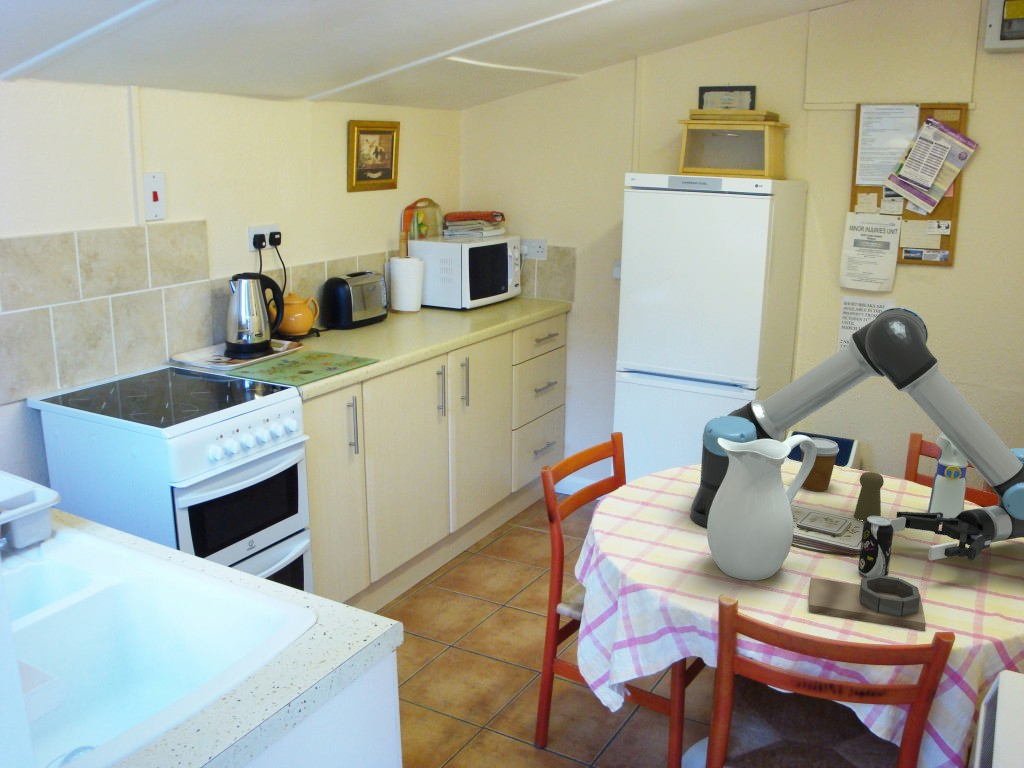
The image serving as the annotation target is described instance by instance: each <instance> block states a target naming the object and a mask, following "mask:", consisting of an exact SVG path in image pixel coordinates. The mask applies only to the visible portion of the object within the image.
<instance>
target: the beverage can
mask: <svg viewBox="0 0 1024 768" xmlns="http://www.w3.org/2000/svg"><path fill="white" fill-rule="evenodd" d="M889 519H890V518H888V517H884V516H882V515H881V516H870V517H868V518H867V521H866V522H864V523H863V525H862V533H861V542H860V551H859V558H858V568H857V569H858V572H859V573H860V574H862V575H863V576H864V577H865V578H867V577H871V576H875V575H877V576H878V575H881V576H887V577H888V575H889V571H890V563H891V562H890V561H891V556H892V555H891V554H892V545H893V536H894V532H893V531H894V529H893V527H892V525H891V520H889Z"/></svg>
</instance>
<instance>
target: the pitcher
mask: <svg viewBox="0 0 1024 768" xmlns="http://www.w3.org/2000/svg"><path fill="white" fill-rule="evenodd" d="M810 438H811V437H809V436H807V435H803V434H795V435H791V436H790V437H788V438H786V439H785V440H783V441H777V440H773V439H759V440H755V441H751V442H747V443H737V442H732V441H728V440H725V439H723V438H718V440H717V441H718V445H719V446H720V447H721V448H722V449H723V450H724V451H725V452H726V453H727V455H728V457H729V466H728V470H727V473H726V476H725V478H724V480H723V482H722V484H721V486H720V488H719V489H718V491H717V493H716V495H715V498H714V500H713V503H712V505H711V508H710V512H709V516H708V523H707V527H706V531H707V532H706V535H707V543H708V547H709V550H710V552H711V555H712V557H713V560H714V561H715V563H716V565H717V567H719V569H720V570H721V571H722V573H724V574H725V575H727V576H730V577H732V578H735V579H737V580H738V579H739V580H744V581H762V580H766V579H769V578H771V577H773V576H774V575H775V573H777V571H778V570H779V569H780V568H781V567H782V565H783V563H785V561H786V559H787V558H788V555H789V553H790V552H791V551H790V550H791V548H792V545H793V544H792V543H793V538H794V518H793V511H792V507H791V506H792V503H793V502H794V501H793V500H795V497H796V496H797V494H798V493H799V492H800V491H799V490H801V487H803V483H804V481H805V479H806V478H807V476H808V474H809V473H810V471H811V469H812V467H813V465H814V462H815V459H816V453H817V450H816V445H815V443H814V441H813V440H812V439H810ZM802 443H803V444H804V447H805V453H804V459H803V462H802V461H801V464H800V468H799V470H798V471H797V474H796V475H795V478H794V479H793V481H792V483H791V484H790V486H789V487H788V489H786V488H785V485H784V482H783V481H784V480H783V479H782V465H783V464H784V463H785V460H786V458H788V456H789V455H790V454H791V452H792V450H794V448H795V447H797V446H800V444H802Z"/></svg>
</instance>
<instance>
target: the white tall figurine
mask: <svg viewBox="0 0 1024 768" xmlns="http://www.w3.org/2000/svg"><path fill="white" fill-rule="evenodd" d="M935 443H936V446H937V447H938V448H939V449H940V452H939V455H938V456H937V457H936V461H937V465H936V466H937V467H936V472H935V474H934V476H933V478H932V486H931V493H930V499H929V503H928V508H927V513H937V512H941V513H943V518H955V517H957V516H958V515H959V514H960V513H961V512H963V511H965V510H964V509H965V501H966V500H965V499H966V498H965V497H966V493H967V492H966V490H967V478H966V475H967V469H968V466H969V465H970V462H969V461H968V460H967V459H966V458H965V457H964V456H963V455H962V453H961V452H960V451H959V450H958V449H957V448H956V447H955V446H954V444H953V443H952V442H951V441H950V440H949V439H948V438H947V437H946V435H945V434H944V433H943V432H941V433H940V434H939V437H938V438H937V440H936V441H935Z"/></svg>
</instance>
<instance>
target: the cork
mask: <svg viewBox="0 0 1024 768" xmlns="http://www.w3.org/2000/svg"><path fill="white" fill-rule="evenodd" d="M884 482H885V481H884V477H883V475H882V474H880V473H878V472H874V471H873V472H872V471H866V472H862V474H861V475H860V478H859V484H860V486H861V487H860V491H859V494H858V498H857V502H856V506H855V509H854V514H853V517H854V519H856V520H858V519H859V520H858V521H860V520H863V521H867V518H868V517H870V516H881V517H882V509H881V507H882V506H881V504H882V503H881V502H882V501H881V498H882V497H881V488H883V486H884ZM863 521H862V522H863Z"/></svg>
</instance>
